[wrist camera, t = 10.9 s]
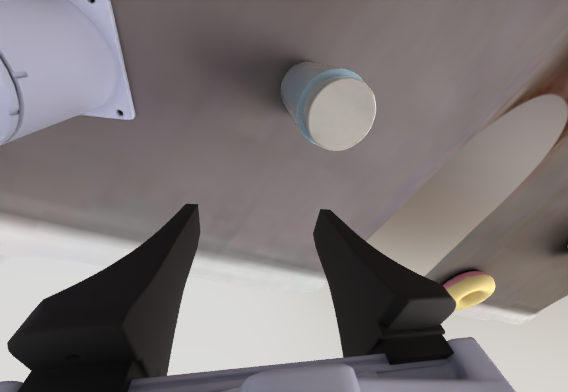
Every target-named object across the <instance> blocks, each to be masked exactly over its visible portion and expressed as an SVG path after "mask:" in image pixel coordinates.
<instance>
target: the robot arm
mask: <svg viewBox="0 0 568 392" xmlns="http://www.w3.org/2000/svg"><path fill="white" fill-rule="evenodd" d="M118 110H121V111H122V112H123V115H121V114H119V112H118ZM77 115H86V116H95V117H105V118H114V119H124V120H131V119H133V118H134V117H135V110H134V105H133V101H132V96H131V92H130V87H129V82H128V78H127V73H126V69H125V64H124V60H123V55H122V50H121V46H120V41H119V37H118V32H117V28H116V23H115V19H114V14H113V9H112V5H111V1H110V0H95V2H94V3H92V2H91V1H90V0H0V145H3V144H5V143H8V142H11V141H13V140H16V139H18V138H21V137H23V136H26V135H28V134H31V133H34V132H36V131H39V130H41V129H44V128H46V127H49V126H52V125H54V124H57V123H59V122H62V121H64V120H67V119H69V118H72V117H75V116H77ZM199 236H200V223H199V211H198V204H186V205H184V206H183V207H182V208H181V209H180V211H179V212H178V213H177V214H176V215H175V216H174V217H173V218H172V219H171V220H170V221H168V222H167V223H166V224H165V225H164V226H163V227H162V228H161V229H160V230H159V231H158V232H156V233H155V234H154V235H153V236H152V237H151V238H149V239H148V240H147V241H146V242H144V243H143V244H142V245H141V246H139V247H138V248H136V249H135V250H134V251H132V252H131V253H129V254H128V255H126V256H125V257H123V258H122V259H120V260H118V261H117V262H115V263H114V264H112V265H110V266H109V267H107V268H105V269H104V270H102V271H100V272H98V273H97V274H95V275H93V276H91V277H89V278H87V279H85V280H84V281H82V282H79V283H78V284H75V285H73V286H71V287H69V288H67V289H65V290H63V291H61V292H59V293H57V294H55V295H52V296H50V297H48V298H46V299H44V300H43V301H42V302H41V303H40V304H39V305H38V306H37V307H36V308H35V310H34V311H33V312H32V313H31V314H30V315H29V317H28V318H27V319H26V320H25V322H24V323H23V324H22V325H21V326H20V328H19V329H18V330H17V331H16V333H15V334H14V335H13V336H12V338H11V339H10V340H9V342H8V350H9V352H10V353H11V354H12V355H13V356H14V357H15V358H16V359H18V360H19V361H20V362H21V363H23V364H24V365H25V366H26V367H28V368H29V369H30V370H31V373H30V374H29V376H28V377H27V378H26V380H25V381H24V383H22V382H18V381H3V382H0V392H515V390H514V389H513V388H512V386H511V385H510V384H509V383H508V381H507V380H506V379H505V378H504V376H503V375H502V374H501V372H500V371H499V370H498V368H497V367H496V366H495V365H494V363H493V362H492V361H491V360H490V358H489V357H488V356H487V354H486V353H485V352H484V350H483V349H482V348H481V347H480V345H479V344H478V343H477V341H476V340H475V339H474V338H472V337H468V338H457V339H451V340H449V341H446V340H445V338H444V337H443V336H442V334H444V333H445V331H444V329H443V328H442V326H441V325H440V324H441V323H442V322H443V321H444V320H445V319H447V318H448V317H449V316H450V315H451V314H452V313H453V311H454V310H455V308H456V301H455V300H454V299H453V297H452V296H451V295H450V294H449V293H448V291H447V290H446V289H445V288H444V286H443V285H441V284H439V283H437V282H434V281H432V280H430V279H428V278H426V277H423V276H421V275H419V274H417V273H415V272H413V271H411V270H409V269H407V268H405V267H404V266H402V265H400V264H398V263H397V262H395V261H393V260H392V259H390V258H388V257H387V256H385V255H383V254H382V253H381V252H379V251H378V250H376V249H375V248H373V247H372V246H371V245H370V244H368V243H367V242H366V241H365V240H363V239H362V238H361V237H360V236H358V235H357V234H356V233H355V232H354V231H353V230H351V229H350V228H349V227H348V226H347V225H346V224H345V223H344V222H343V221H342V220H341V219H340V218H338V217H337V216H336V215H335V214H334V213H333V212H332V211H331V210H326V209H320V212H319V216H318V219H317V222H316V226H315V229H314V232H313V236H314V241H315V246H316V249H317V252H318V255H319V258H320V261H321V264H322V267H323V269H324V272H325V275H326V278H327V281H328V284H329V287H330V291H331V295H332V300H333V304H334V308H335V313H336V318H337V323H338V328H339V333H340V339H341V345H342V350H343V358H336V359H326V360H317V361H307V362H297V363H288V364H278V365H268V366H259V367H249V368H239V369H229V370H219V371H210V372H200V373H190V374H182V375H171V376H167V372H168V366H169V360H170V354H171V349H172V343H173V338H174V333H175V328H176V323H177V318H178V313H179V308H180V303H181V299H182V295H183V290H184V287H185V283H186V280H187V277H188V274H189V271H190V268H191V265H192V262H193V259H194V256H195V253H196V250H197V246H198V241H199Z"/></svg>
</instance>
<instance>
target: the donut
mask: <svg viewBox="0 0 568 392" xmlns="http://www.w3.org/2000/svg"><path fill="white" fill-rule="evenodd" d="M443 286H444V288H445V289H446V290H447V291H448V293H449V294H450V295H451V296H452V297H453V299H454V300H455V301H456V308H455V310H462V309H466V308H469V307H472V306H474V305H477V304H479V303H480V302H482V301H484V300H485V299H487V298H488V297H489V296H490V295H491V294H492V293H493V291H494V290H495V282H494V280H493V278H492V277H491V276H489V275H488V274H486V273H484V272H479V271H471V272H466V273H463V274H460V275H458V276H455V277H453V278H452V279H450V280H449V281H447V282H446V283H445V284H444V285H443Z"/></svg>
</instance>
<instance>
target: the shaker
mask: <svg viewBox="0 0 568 392" xmlns="http://www.w3.org/2000/svg"><path fill="white" fill-rule="evenodd" d="M281 98H282V102H283V104H284V106H285V107H286V109H287V111H288V112H289V114H290V115H291V117H292V118H293V120H294V121H295V123H296V125H297V126H298V128H299V129H300V131H301V132H302V134H303V135H304V137H305V138H306V139H307V140H309V141H310V142H311V143H313V144H315V145H318V146H320V147H322V148H324V149H326V150H331V151H340V150H345V149H348V148H350V147H352V146H354V145H355V144H357V143H358V142H360V141H361V140H362V139H363V138H364V137H365V136H366V134H367V133H368V132H369V130H370V128H371V126H372V124H373V122H374V119H375V114H376V101H375V97H374V94H373V92H372V90H371V89H370V87H369V86H368V85H367V84H366V83H365V82H364V81H363V79H362V78H361V77H360V76H359V75H358V74H356V73H355V72H353V71H351V70H348V69H344V68H339V67H335V66H330V65H325V64H320V63H315V62H309V61H306V62H300V63H298V64H296V65H294V66H293V67H292V68H290V69H289V70H288V72H287V73H286V75H285V76H284V78H283V81H282V84H281Z"/></svg>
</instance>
